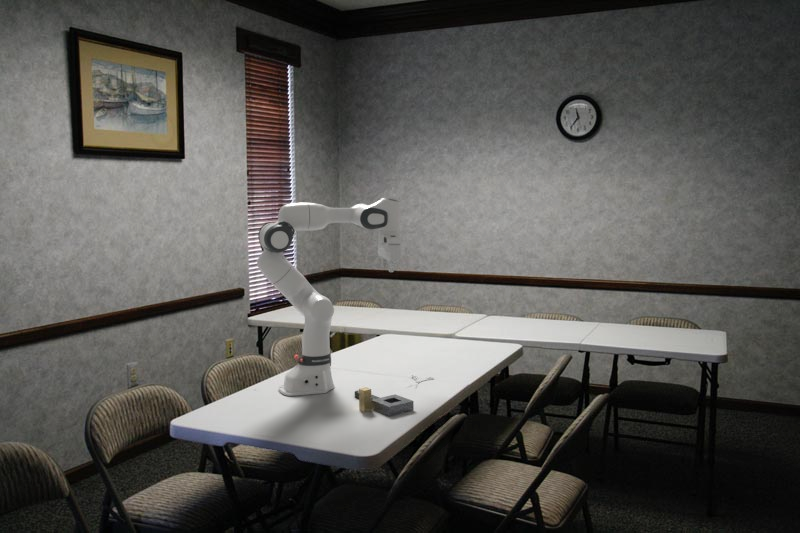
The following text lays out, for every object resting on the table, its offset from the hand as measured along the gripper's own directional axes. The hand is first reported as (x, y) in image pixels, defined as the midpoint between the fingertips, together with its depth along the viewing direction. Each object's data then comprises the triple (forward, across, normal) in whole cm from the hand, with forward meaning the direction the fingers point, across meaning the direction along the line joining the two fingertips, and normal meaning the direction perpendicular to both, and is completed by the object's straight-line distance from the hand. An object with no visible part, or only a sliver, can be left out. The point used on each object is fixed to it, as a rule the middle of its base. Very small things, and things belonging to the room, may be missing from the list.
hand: (387, 270), depth 290 cm
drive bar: (+45, +41, -19) cm, 63 cm away
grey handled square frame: (+45, +35, -13) cm, 58 cm away
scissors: (+47, +11, +11) cm, 49 cm away
